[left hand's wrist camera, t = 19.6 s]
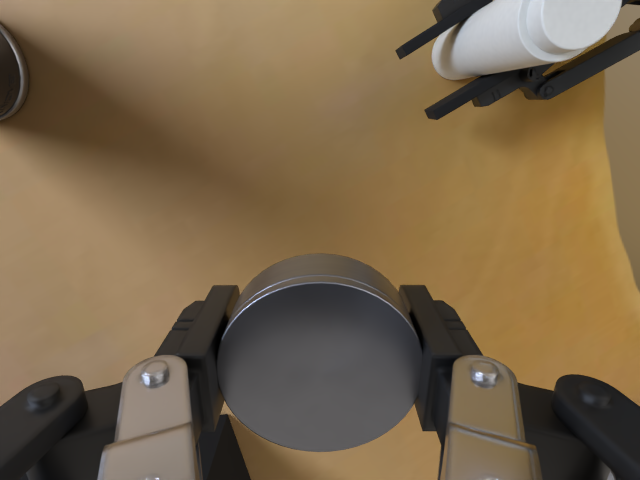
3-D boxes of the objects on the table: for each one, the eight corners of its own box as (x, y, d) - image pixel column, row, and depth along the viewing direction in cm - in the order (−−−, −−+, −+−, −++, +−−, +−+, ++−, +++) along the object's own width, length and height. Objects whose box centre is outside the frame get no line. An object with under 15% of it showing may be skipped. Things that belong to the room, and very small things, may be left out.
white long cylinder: (489, 63, 34) (643, 25, 18) (443, 89, 35) (551, 77, 18) (469, 15, 33) (616, -75, 16) (423, 43, 34) (519, -14, 17)
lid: (268, 223, 10) (258, 247, 8) (442, 293, 11) (464, 328, 9) (207, 372, 12) (189, 417, 10) (361, 424, 12) (368, 474, 11)
